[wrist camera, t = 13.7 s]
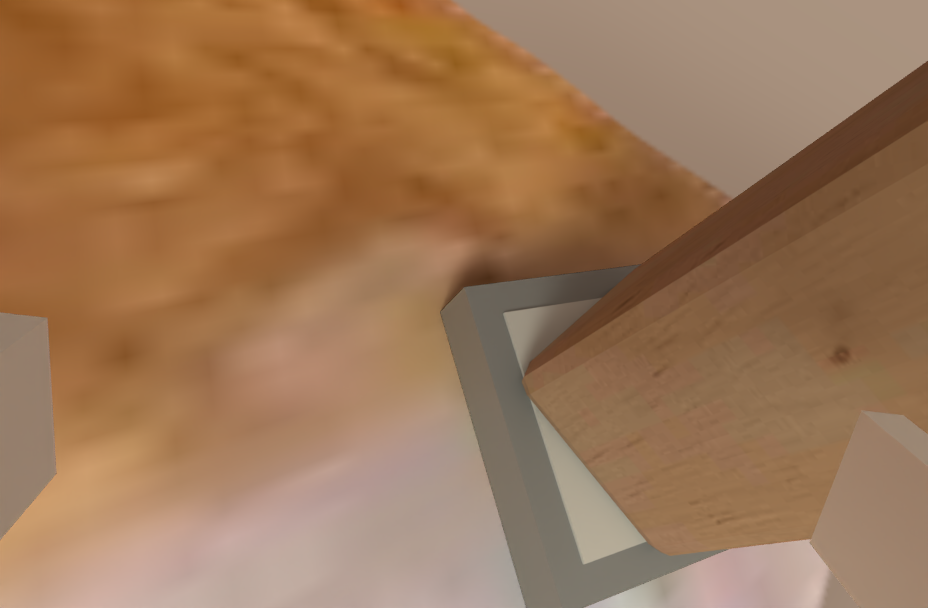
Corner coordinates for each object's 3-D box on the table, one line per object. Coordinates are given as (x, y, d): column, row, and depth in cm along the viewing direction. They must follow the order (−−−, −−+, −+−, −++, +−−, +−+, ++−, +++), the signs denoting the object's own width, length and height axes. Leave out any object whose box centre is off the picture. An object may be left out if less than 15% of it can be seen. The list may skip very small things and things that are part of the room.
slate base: (440, 311, 34) (465, 285, 31) (658, 280, 40) (695, 256, 38) (528, 615, 30) (566, 615, 27) (755, 526, 36) (804, 519, 34)
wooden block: (504, 382, 30) (967, 79, 13) (631, 269, 35) (1075, -48, 19) (655, 568, 29) (1342, 499, 13) (761, 424, 35) (1342, 242, 18)
